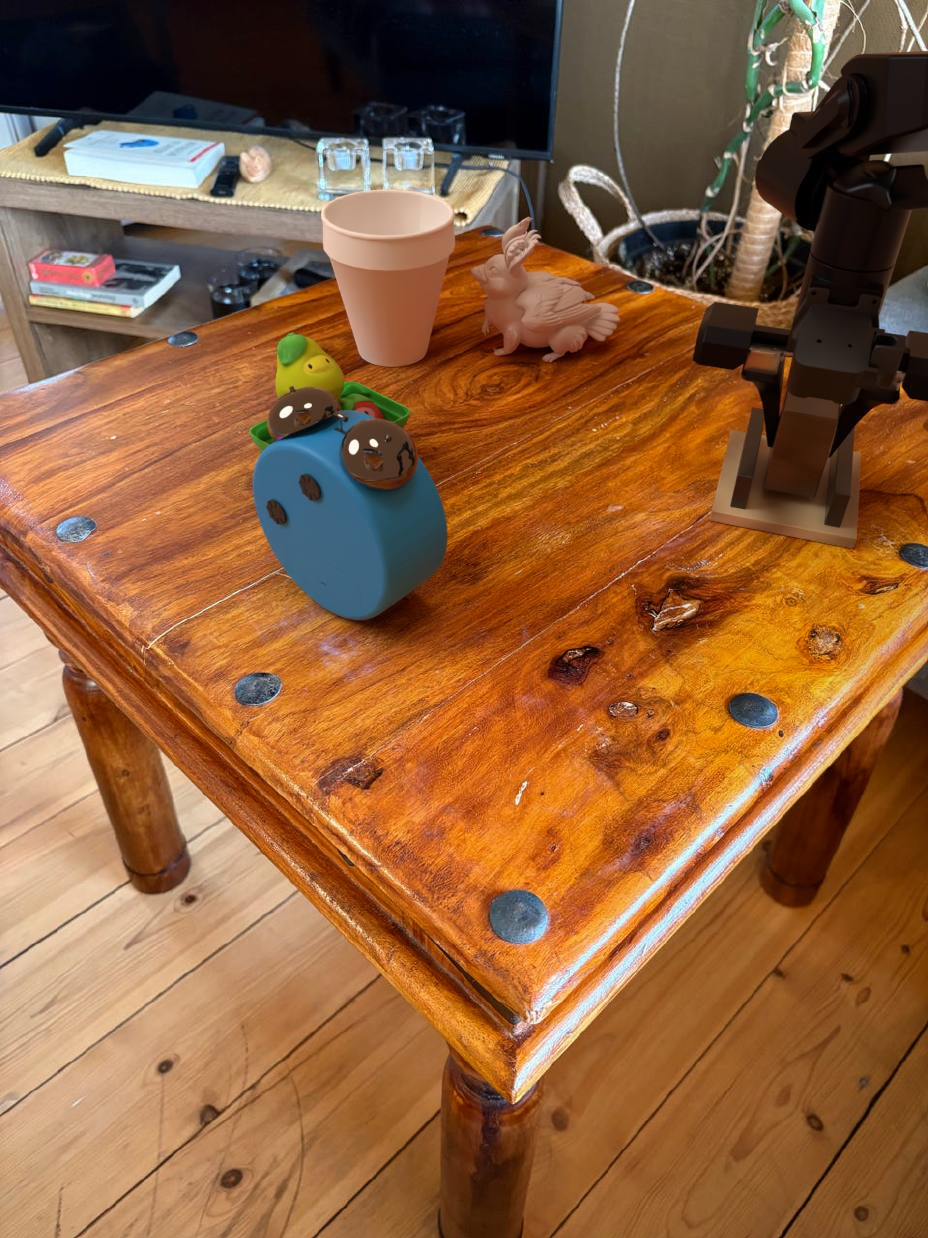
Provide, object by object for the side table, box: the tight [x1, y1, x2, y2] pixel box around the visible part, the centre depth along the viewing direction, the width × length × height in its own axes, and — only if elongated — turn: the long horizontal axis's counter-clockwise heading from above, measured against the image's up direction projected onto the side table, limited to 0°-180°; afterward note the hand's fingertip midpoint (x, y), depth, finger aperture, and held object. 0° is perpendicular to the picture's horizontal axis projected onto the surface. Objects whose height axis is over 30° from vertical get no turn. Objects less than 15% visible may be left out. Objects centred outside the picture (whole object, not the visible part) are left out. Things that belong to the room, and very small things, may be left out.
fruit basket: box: [248, 331, 411, 454], centre depth 79 cm, size 11×9×11 cm
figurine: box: [470, 216, 621, 363], centre depth 96 cm, size 8×15×13 cm, turn 100°
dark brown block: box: [763, 386, 842, 498], centre depth 78 cm, size 4×7×7 cm, turn 162°
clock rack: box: [709, 406, 862, 550], centre depth 80 cm, size 11×13×4 cm
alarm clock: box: [252, 386, 449, 621], centre depth 66 cm, size 13×6×15 cm, turn 49°
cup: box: [320, 188, 456, 368], centre depth 95 cm, size 12×12×14 cm
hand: (798, 449), depth 79 cm, fingers closed on dark brown block, 4 cm apart
